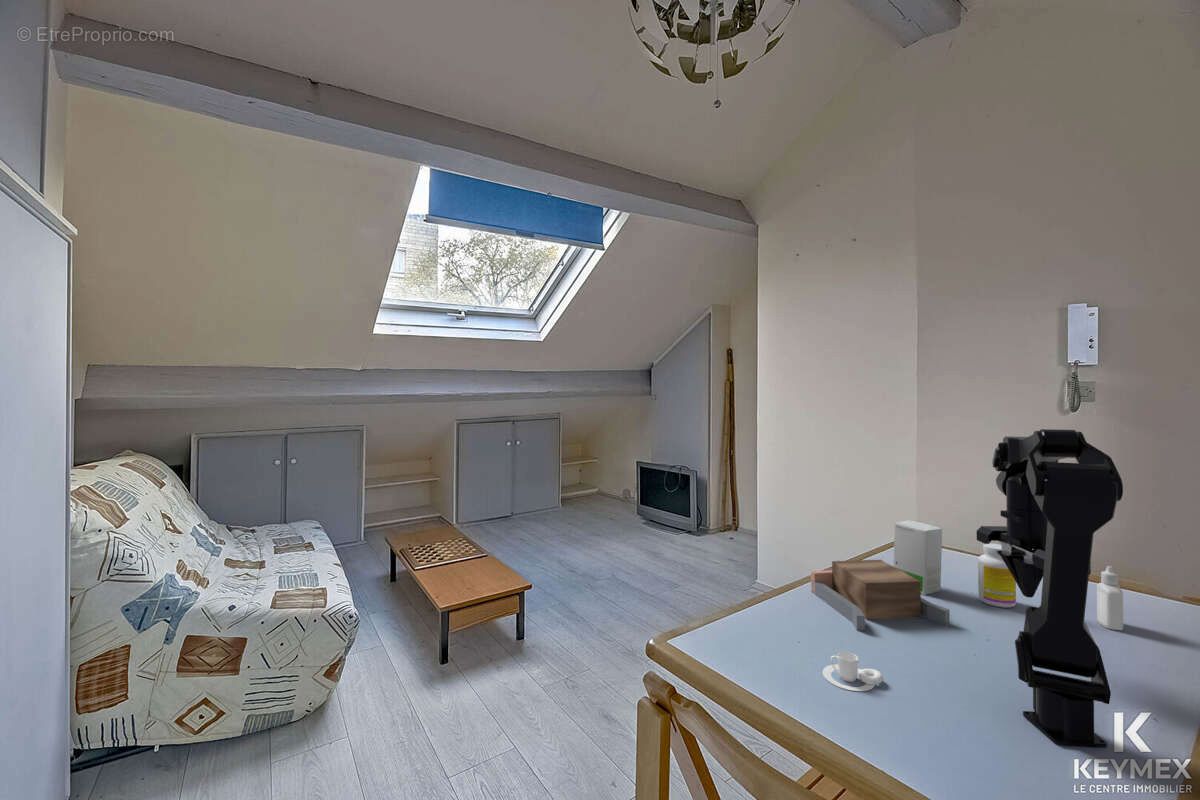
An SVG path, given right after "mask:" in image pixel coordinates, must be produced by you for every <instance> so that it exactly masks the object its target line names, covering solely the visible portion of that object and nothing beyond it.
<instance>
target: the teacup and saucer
mask: <svg viewBox="0 0 1200 800" xmlns="http://www.w3.org/2000/svg"><path fill="white" fill-rule="evenodd" d="M833 658H834V659H836V660H837V664H836V663H835V664H833ZM829 662H830V665H827V666H825V667H824V668H823V669H822V675H823V678H825V679H826V681H827V682H829V683H830V684H832V685H834V686H836V687H838V688H840V689H843V690H847V691H852V692H867V691H870V690H873V689H874V688H875V687H876V685H879V684H881V683H882V682H883V681H884V676H883V674H882V673H881V672H880V671H879V670H877V669H874V668H863V669H861V668H859V657H858V655H856V654H854V653H852V652H848V651H840V652H838V653H837V655H832V656H830V661H829ZM834 671H835V672H836V673H837V674H838V675H840V677H841V679H843V680H844V681H846V682H849V683H852V682H855V681H856V680H857V677H858V678H859V680H860V681H861V682H863V683H865V684H864V685H862V686H858V687H857V686H849V685H846V684H845V685H844V684H843V683H840V682H838V681H836V680H835V679H834V677H833V676H832V673H833V672H834Z"/></svg>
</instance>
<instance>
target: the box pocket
mask: <svg viewBox="0 0 1200 800" xmlns="http://www.w3.org/2000/svg"><path fill="white" fill-rule="evenodd" d="M810 572H811V573H810V575H811V576H810V580H811V581H810V583H811V586H810V587H811V591H810V592H811V593H812V594H814V595H815V596H817V597H818V598H819V599H820V600H822V601H824V602H825V603H826V604H827V605H829V606H830V607H831V608H832V609H834V610H835V611H837V612H838V613H839V614H841V615H842V616H843V617H845V619H847V620H848V621H850V622H852V624H853V626H854V628H855V630H856V631H862V632H866V619H865V616H864V614H863V613H862V611H861V609H860V608H859V607H857V606H856V605H854V604H853V603H851V602H850V601H848V600H847V599H846V598H844V597H843V596H841V595H840V594H838V593H837V592H835V591H834V590H832V569H830V570H829V569H828V570H812V571H810ZM921 617H923V618H926V619H928V620H930V621H933V622H934V623H938V624H941V625H943V626H948V625H950V623H951V621H950V608H946V607H944V606H942V605H937V604H935V603H933V602H930V601H928V600H927V599H925V598H923V597H921Z"/></svg>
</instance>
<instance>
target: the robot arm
mask: <svg viewBox="0 0 1200 800" xmlns="http://www.w3.org/2000/svg"><path fill="white" fill-rule="evenodd" d="M1063 459H1064V460H1065V459H1075V460H1076V462H1059V460H1063ZM991 464H992V468H994V469H995V471H996V472H999V473H998V474H997V476H996V478H995V483H996V486H997V488H998V490H999V491H1000V493H1002V494H1003V495H1004V496H1005V497H1006V500H1005V501H1006V510H1000V517H1002V518H1004V519H1006V525H1005V526H1004V525H1003V526H1001V525H1000V526H999V525H996V526H995V525H993V526H992V525H991V526H990V525H981V526H979V528H978V529H976V541H978V542H980V543H982V544H983V545H984V544H989V543H992V542H993V541H994V542H999V543H1000V544H1001V545H1002V551H997V553H998V554H999V555H1000V556H1001V558H1002V559H1003V561H1004V562H1005V564H1006V566H1007V567H1008V569H1009V571H1010V572H1011V574H1012V576H1013V578H1014V579H1015V581H1016V586H1017V587H1018V588H1019V590H1020V592H1021V594H1022V596H1024V597H1026V598H1034V596H1035V594H1036V591H1037V590H1038V587H1039V586H1040V583H1041V582H1042V586H1041V598H1040V599H1041V600H1040V605H1039V606H1038V607H1035V606H1028V607H1027V608H1026V609H1025V618H1024V625H1023V631H1021V630H1019V632H1018V636H1017V638H1016V639H1015V641H1014V645H1015V647H1014V648H1015V652H1016V653H1015V654H1016V662H1017V677H1018V679H1019V680H1021V681H1022V682H1024V683H1026V685H1027V687H1029V688H1032V694H1033V695H1032V709H1033V711H1031V710H1030V711H1027V710H1023V711H1022V715H1023V717H1024V718H1026V719H1027V720H1028V721H1029V722H1030V723H1031V724H1032V725H1034V727H1036V728H1037V729H1039V731H1040V732H1041V733H1043V734H1044V735H1045V736H1046V737H1047V738H1048V739H1050V740H1051V741H1052V742H1054V743H1055V744H1056V745H1063V746H1065V745H1066V746H1082V747H1083V746H1084V747H1098V748H1099V747H1101V748H1106V747H1108V742H1107V741H1106V740H1104V739H1103V738H1102V737H1101V736H1100V735H1098V734H1097V733H1096V732H1095V702H1100V703H1103V704H1107V705H1109V704H1110V702H1111V696H1112V693H1111V692H1112V691H1111V688H1110V684H1109V680H1108V677H1107V672H1106V669H1105V665H1104V662H1103V658H1102V654H1101V651H1100V647H1099V646H1098V645H1097V644H1096V642H1095V640H1094V637H1093V635H1092V633H1091V631H1090V629H1089V628H1088V626H1087V624H1086V622H1085V615H1086V607H1087V606H1086V605H1087V599H1088V598H1087V596H1088V588H1089V587H1088V586H1089V579H1090V578H1089V577H1090V575H1091V574H1092V561H1091V559H1092V549H1093V542H1094V541H1093V540H1094V534H1095V533H1096V532H1097V531H1098V530H1100V529H1101V528H1102V527H1103V526H1105V525H1106V524H1108V523H1109V522H1111V521H1112V520H1113V519H1114V517H1115V512H1116V508H1117V507H1116V506H1117V502H1120V501H1121V500H1122V498H1123V495H1124V493H1123V492H1124V485H1123V480H1122V478H1121V476H1120V473H1119V472H1118V469H1117V467H1116V464H1115V463H1114V461H1113V459H1112V457H1110V456H1109V454H1106V453H1105V452H1104V451H1102V450H1100V449H1099V448H1096V446H1093V445H1092V444H1090V443H1089V442H1087V441H1086V438H1085V436H1084V433H1083V432H1082V431H1077V430H1075V429H1051V428H1049V429H1045V428H1044V429H1040V430H1034V431H1033V434H1031V435H1029V436H1004V437H1003V439H1002V442H999V443H997V447H996V448H995V449H994V453H993V457H992V462H991ZM1034 668H1038V669H1042V670H1048V671H1053V672H1058V673H1063V674H1068V675H1073V676H1078V677H1083V678H1090V680H1085V679H1081V678H1075V677H1070V676H1066V675H1062V674H1056V673H1052V672H1045V671H1041V670H1036V669H1034Z"/></svg>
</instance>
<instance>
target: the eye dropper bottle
mask: <svg viewBox="0 0 1200 800" xmlns="http://www.w3.org/2000/svg"><path fill="white" fill-rule="evenodd" d="M1100 572H1101V573H1100V575H1101V576H1100V581H1101V582H1099V583H1097V585H1096V620H1097V623H1098V624H1099V625H1100V626H1102V627H1104V628H1105V629H1108V630H1113V631H1120V632H1122V631H1123V630H1124V593H1123V590H1122V588H1121V587H1120V586H1119V574H1118V573H1117V572H1114V569H1113V566H1111V565H1107V566H1106V568H1105V570H1103V571H1100Z"/></svg>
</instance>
